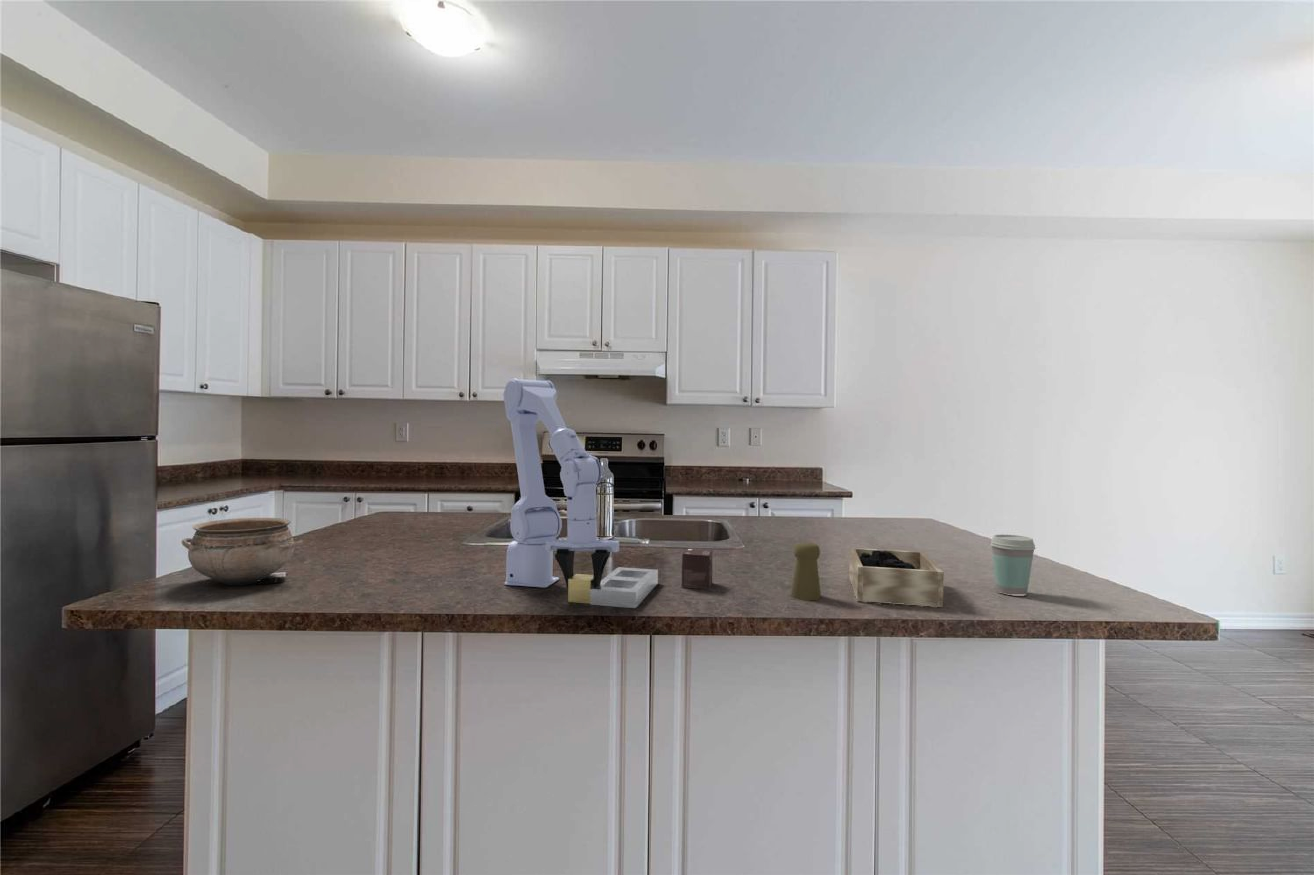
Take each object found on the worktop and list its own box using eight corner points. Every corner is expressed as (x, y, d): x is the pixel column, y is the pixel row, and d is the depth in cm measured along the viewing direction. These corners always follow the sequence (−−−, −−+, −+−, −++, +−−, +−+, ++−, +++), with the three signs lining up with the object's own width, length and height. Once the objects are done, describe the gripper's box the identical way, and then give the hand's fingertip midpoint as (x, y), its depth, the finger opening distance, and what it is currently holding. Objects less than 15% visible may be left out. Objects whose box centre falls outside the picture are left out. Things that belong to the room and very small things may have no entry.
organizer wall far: (854, 579, 151) (854, 548, 151) (853, 578, 152) (854, 548, 152) (918, 583, 149) (919, 552, 148) (918, 582, 150) (918, 551, 149)
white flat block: (590, 604, 127) (590, 588, 126) (617, 580, 146) (618, 567, 146) (635, 608, 125) (635, 592, 125) (657, 583, 144) (658, 569, 144)
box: (709, 589, 140) (709, 555, 140) (681, 587, 141) (681, 553, 141) (712, 583, 146) (713, 549, 146) (685, 581, 147) (686, 548, 147)
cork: (822, 594, 138) (823, 541, 137) (819, 601, 132) (820, 546, 132) (792, 591, 140) (794, 539, 139) (788, 598, 134) (790, 544, 134)
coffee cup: (1032, 591, 143) (1033, 536, 143) (1036, 600, 136) (1037, 542, 135) (988, 586, 147) (989, 532, 147) (989, 595, 139) (991, 538, 139)
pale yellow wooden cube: (568, 602, 128) (568, 578, 128) (576, 596, 133) (576, 573, 133) (590, 603, 127) (590, 580, 127) (597, 597, 132) (597, 575, 132)
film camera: (936, 601, 134) (938, 556, 134) (898, 604, 131) (899, 559, 131) (886, 583, 149) (887, 543, 148) (850, 586, 145) (851, 545, 145)
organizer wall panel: (857, 601, 132) (858, 566, 132) (849, 578, 153) (850, 547, 153) (862, 602, 132) (863, 567, 132) (853, 578, 152) (854, 548, 152)
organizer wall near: (862, 602, 132) (863, 567, 132) (861, 600, 133) (862, 566, 133) (937, 607, 129) (938, 571, 129) (936, 606, 130) (937, 570, 130)
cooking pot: (324, 572, 149) (325, 518, 148) (276, 594, 130) (276, 532, 130) (213, 570, 149) (213, 516, 149) (149, 591, 130) (149, 529, 130)
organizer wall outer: (937, 607, 129) (938, 571, 129) (918, 582, 150) (918, 551, 149) (942, 607, 129) (943, 572, 129) (922, 582, 149) (923, 551, 149)
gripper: (539, 521, 127) (540, 591, 127) (611, 521, 124) (613, 593, 124) (552, 516, 134) (553, 583, 134) (621, 517, 131) (622, 585, 131)
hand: (583, 588), depth 130 cm, fingers open, 5 cm apart
